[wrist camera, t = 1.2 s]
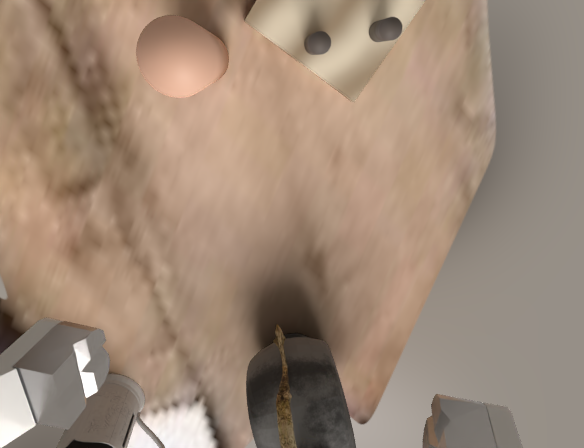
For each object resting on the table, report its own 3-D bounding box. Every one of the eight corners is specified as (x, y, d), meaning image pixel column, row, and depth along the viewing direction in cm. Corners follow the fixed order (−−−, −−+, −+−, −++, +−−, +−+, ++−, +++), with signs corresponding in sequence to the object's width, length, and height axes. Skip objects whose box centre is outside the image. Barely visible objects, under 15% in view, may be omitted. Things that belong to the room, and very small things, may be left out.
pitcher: (271, 406, 62) (286, 687, 34) (232, 300, 55) (212, 546, 27) (341, 387, 62) (415, 653, 34) (312, 278, 55) (375, 503, 27)
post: (171, 64, 44) (122, 68, 27) (195, 21, 43) (159, -3, 26) (213, 92, 45) (190, 112, 29) (237, 51, 44) (229, 47, 27)
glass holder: (85, 368, 57) (31, 468, 43) (189, 387, 60) (170, 487, 46) (76, 416, 60) (22, 525, 46) (175, 432, 62) (154, 539, 48)
